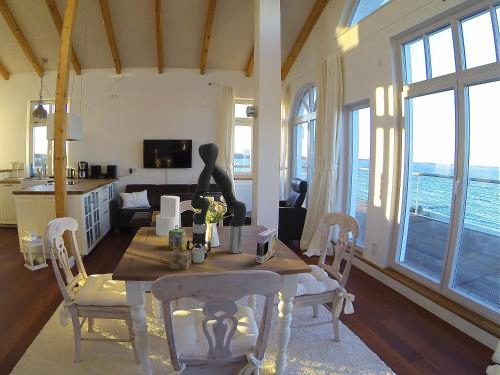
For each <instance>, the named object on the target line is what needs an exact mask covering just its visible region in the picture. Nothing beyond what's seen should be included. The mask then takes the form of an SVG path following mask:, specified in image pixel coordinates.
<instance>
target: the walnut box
mask: <svg viewBox="0 0 500 375" xmlns="http://www.w3.org/2000/svg"><path fill="white" fill-rule="evenodd" d="M192 258H193V250H186V249H173V250H172V251H170V252H169V254H168V269H169V268H170V269H172V270H184V271H185V270H186V271H187V270H188V268H189V267H190V266H191V265H192Z"/></svg>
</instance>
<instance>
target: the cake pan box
mask: <svg viewBox="0 0 500 375" xmlns="http://www.w3.org/2000/svg"><path fill="white" fill-rule="evenodd" d="M277 231H278V230H277V229H276V228H269V229H266V230H264V231H262V232H261V233H258V234H257V239H256V240H257V241H256V242H257V243H256V254H255V256H256V257H255V263H256V262H264V261H265V260H266V259H268V258H269V257H271V256H273V255H274V254H275V253H276V242H277ZM275 255H276V254H275Z"/></svg>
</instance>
